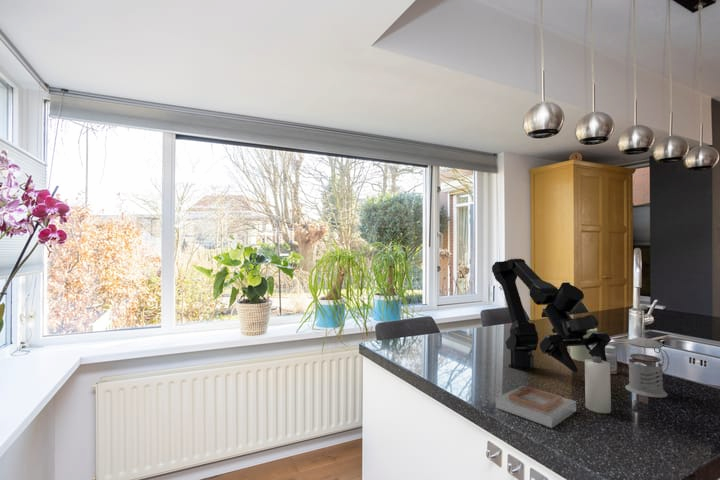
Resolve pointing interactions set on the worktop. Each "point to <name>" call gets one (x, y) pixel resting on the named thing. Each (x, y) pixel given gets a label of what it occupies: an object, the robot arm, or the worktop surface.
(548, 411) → the press bed
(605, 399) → the white bottle
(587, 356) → the can
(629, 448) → the worktop surface
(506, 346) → the robot arm
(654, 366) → the french press
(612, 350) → the pill bottle
